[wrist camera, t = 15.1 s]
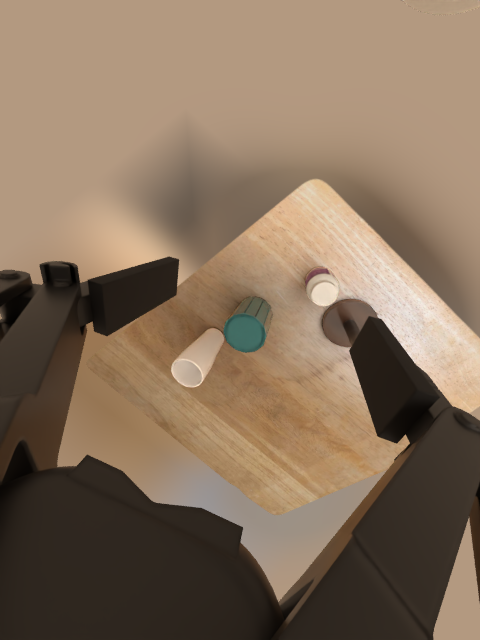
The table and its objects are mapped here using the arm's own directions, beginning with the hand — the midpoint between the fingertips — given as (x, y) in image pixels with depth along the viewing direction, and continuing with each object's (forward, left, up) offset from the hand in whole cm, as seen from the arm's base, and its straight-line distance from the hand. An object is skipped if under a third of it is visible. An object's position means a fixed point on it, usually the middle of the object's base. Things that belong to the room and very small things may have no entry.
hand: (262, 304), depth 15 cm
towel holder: (+10, +16, -31) cm, 36 cm away
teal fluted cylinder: (+15, -3, -31) cm, 34 cm away
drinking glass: (+24, -11, -31) cm, 41 cm away
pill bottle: (+4, +8, -31) cm, 32 cm away
